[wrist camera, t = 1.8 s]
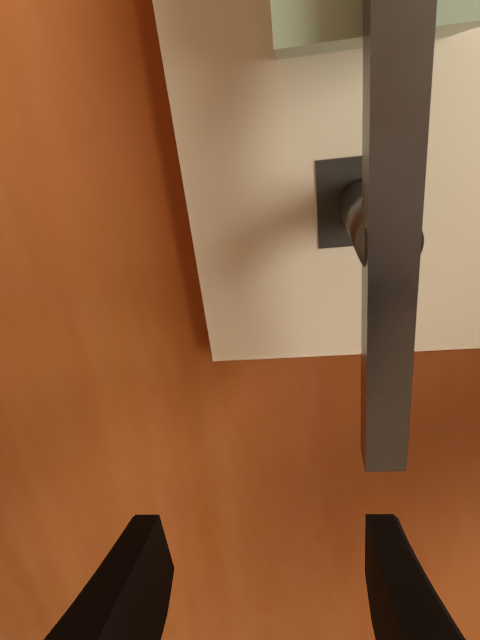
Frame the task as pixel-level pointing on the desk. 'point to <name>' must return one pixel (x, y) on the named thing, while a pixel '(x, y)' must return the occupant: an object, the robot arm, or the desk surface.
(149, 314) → the desk surface
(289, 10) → the pale mint cube
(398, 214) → the t key
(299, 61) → the base plate
